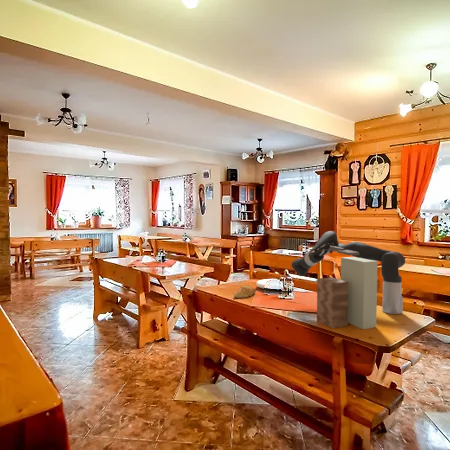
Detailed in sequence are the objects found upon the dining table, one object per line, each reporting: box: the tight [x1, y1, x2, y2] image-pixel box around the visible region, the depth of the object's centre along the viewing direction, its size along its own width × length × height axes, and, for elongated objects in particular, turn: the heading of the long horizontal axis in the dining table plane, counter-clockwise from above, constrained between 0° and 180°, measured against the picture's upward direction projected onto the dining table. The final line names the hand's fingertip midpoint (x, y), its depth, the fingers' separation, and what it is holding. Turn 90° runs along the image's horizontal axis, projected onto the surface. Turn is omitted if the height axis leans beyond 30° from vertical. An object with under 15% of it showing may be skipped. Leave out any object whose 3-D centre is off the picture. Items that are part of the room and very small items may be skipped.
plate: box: [256, 278, 295, 289], centre depth 240 cm, size 28×6×27 cm
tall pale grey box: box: [340, 256, 379, 330], centre depth 165 cm, size 16×8×32 cm, turn 21°
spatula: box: [323, 245, 359, 256], centre depth 168 cm, size 22×6×2 cm, turn 20°
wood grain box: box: [316, 276, 349, 329], centre depth 165 cm, size 12×9×22 cm
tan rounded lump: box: [233, 284, 257, 299], centre depth 218 cm, size 21×10×8 cm, turn 137°
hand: (331, 244), depth 173 cm, fingers closed on spatula, 2 cm apart
